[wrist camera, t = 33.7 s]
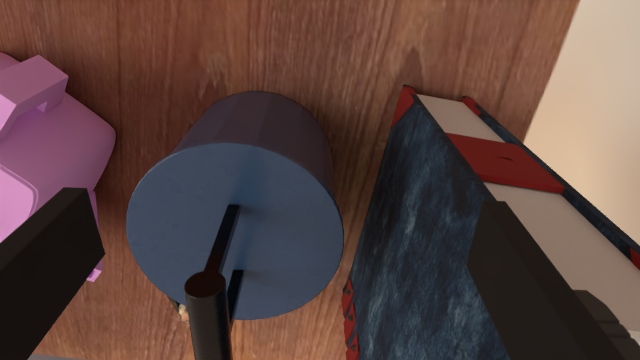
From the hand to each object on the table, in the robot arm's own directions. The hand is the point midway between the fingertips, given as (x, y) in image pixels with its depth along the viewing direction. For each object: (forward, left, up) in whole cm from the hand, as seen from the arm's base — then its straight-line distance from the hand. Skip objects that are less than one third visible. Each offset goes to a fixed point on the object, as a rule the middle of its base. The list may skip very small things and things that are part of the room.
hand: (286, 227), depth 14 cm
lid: (+4, +8, -10) cm, 13 cm away
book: (-9, +13, -22) cm, 27 cm away
